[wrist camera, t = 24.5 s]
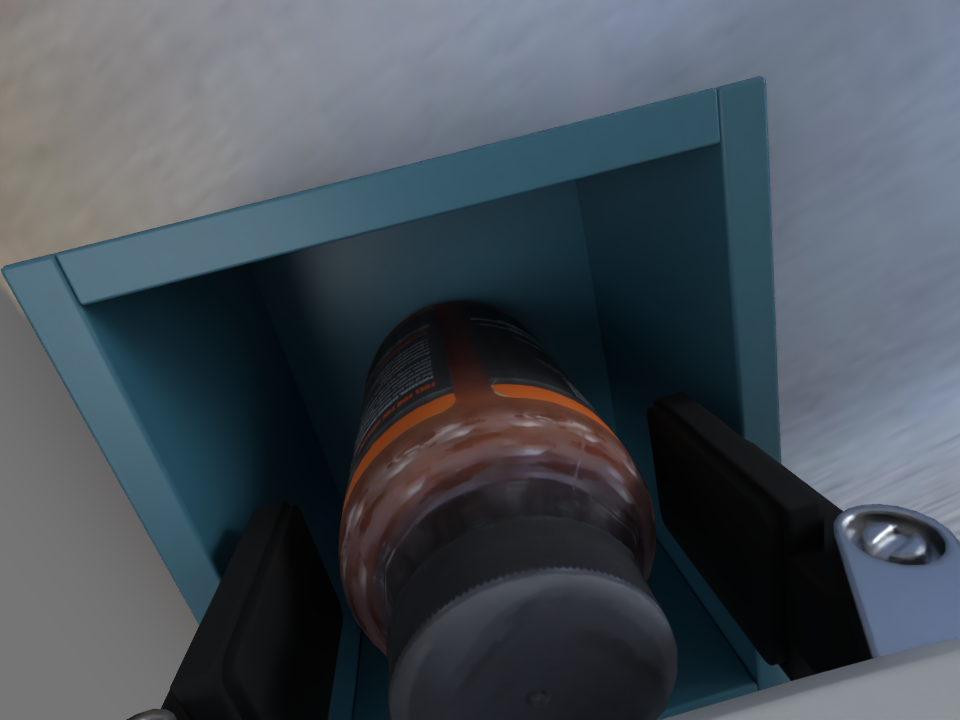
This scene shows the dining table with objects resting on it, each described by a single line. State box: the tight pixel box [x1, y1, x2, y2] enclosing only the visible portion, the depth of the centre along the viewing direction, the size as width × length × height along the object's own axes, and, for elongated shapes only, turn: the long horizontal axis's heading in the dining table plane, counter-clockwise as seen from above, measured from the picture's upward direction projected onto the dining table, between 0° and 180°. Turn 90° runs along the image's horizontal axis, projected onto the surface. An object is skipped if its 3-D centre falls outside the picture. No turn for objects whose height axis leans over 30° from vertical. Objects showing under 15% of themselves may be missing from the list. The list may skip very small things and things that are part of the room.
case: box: [1, 76, 790, 720], centre depth 14 cm, size 14×12×9 cm
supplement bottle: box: [338, 302, 678, 720], centre depth 12 cm, size 6×6×11 cm
